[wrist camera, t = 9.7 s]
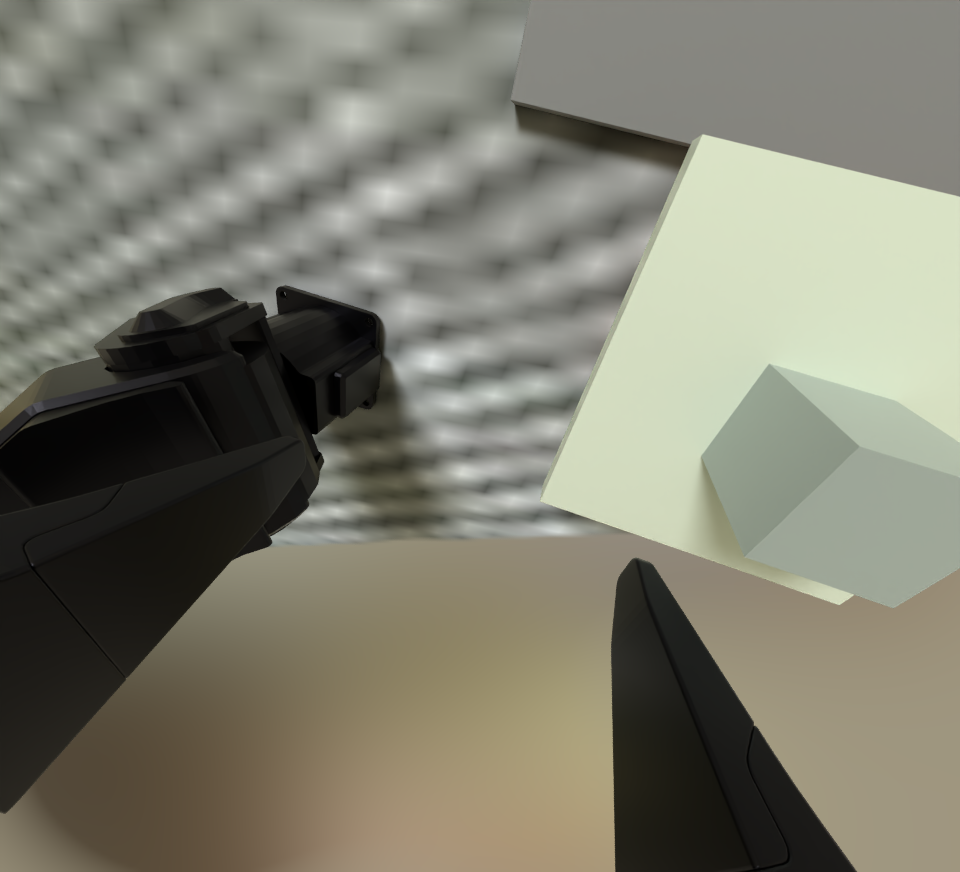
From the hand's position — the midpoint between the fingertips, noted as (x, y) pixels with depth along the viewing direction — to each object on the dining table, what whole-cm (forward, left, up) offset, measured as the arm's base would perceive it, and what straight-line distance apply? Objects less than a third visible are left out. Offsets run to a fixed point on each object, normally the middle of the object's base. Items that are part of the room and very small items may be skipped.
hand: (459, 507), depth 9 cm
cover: (+10, +2, -8) cm, 13 cm away
